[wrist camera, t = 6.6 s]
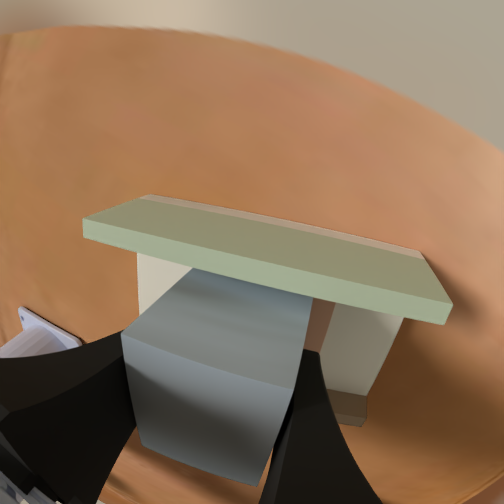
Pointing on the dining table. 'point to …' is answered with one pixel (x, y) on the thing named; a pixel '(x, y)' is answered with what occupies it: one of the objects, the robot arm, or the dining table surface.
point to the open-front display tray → (287, 278)
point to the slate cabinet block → (215, 371)
